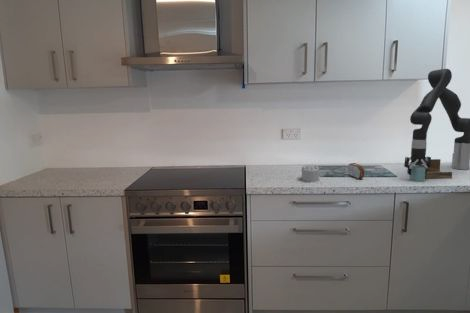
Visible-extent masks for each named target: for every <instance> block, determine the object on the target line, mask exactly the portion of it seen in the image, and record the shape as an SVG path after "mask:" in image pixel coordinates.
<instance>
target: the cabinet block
mask: <svg viewBox="0 0 470 313" xmlns="http://www.w3.org/2000/svg"><path fill="white" fill-rule="evenodd" d="M411 169H412V170H411V175H409V180H412V181H414V182H416V183H422V182H425V181H426V179H425V168H424V167H421V166H418V165H414V166H413V167H412V168H411Z"/></svg>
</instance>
